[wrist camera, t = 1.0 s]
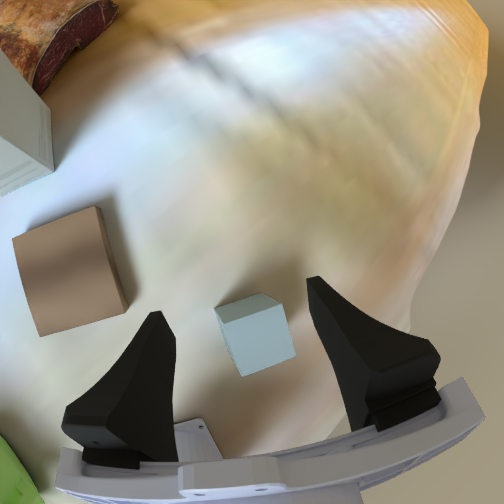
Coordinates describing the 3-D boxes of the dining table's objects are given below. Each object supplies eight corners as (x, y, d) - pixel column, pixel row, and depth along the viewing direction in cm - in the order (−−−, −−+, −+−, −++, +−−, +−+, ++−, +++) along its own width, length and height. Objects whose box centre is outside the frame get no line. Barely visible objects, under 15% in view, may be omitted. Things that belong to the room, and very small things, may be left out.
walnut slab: (129, 307, 24) (125, 313, 21) (50, 330, 21) (39, 337, 19) (102, 209, 23) (94, 205, 20) (24, 239, 21) (11, 238, 18)
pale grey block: (273, 336, 26) (296, 356, 21) (228, 352, 25) (241, 377, 20) (261, 292, 26) (282, 303, 21) (213, 308, 25) (223, 324, 20)
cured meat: (45, -25, 17) (36, -50, 10) (146, -1, 22) (145, -38, 16) (-36, 55, 15) (-55, 36, 8) (38, 103, 20) (11, 74, 14)
